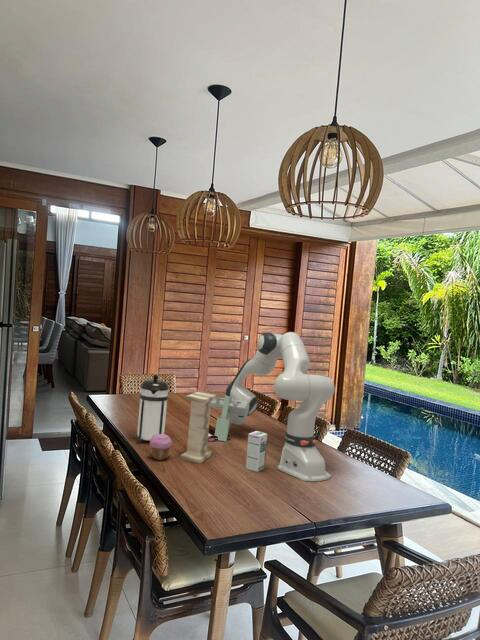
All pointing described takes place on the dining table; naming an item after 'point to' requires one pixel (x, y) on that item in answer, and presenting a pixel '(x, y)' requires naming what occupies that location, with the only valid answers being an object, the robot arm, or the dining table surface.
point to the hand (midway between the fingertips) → (224, 398)
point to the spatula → (223, 422)
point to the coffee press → (152, 408)
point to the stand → (198, 427)
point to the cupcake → (160, 446)
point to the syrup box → (256, 451)
